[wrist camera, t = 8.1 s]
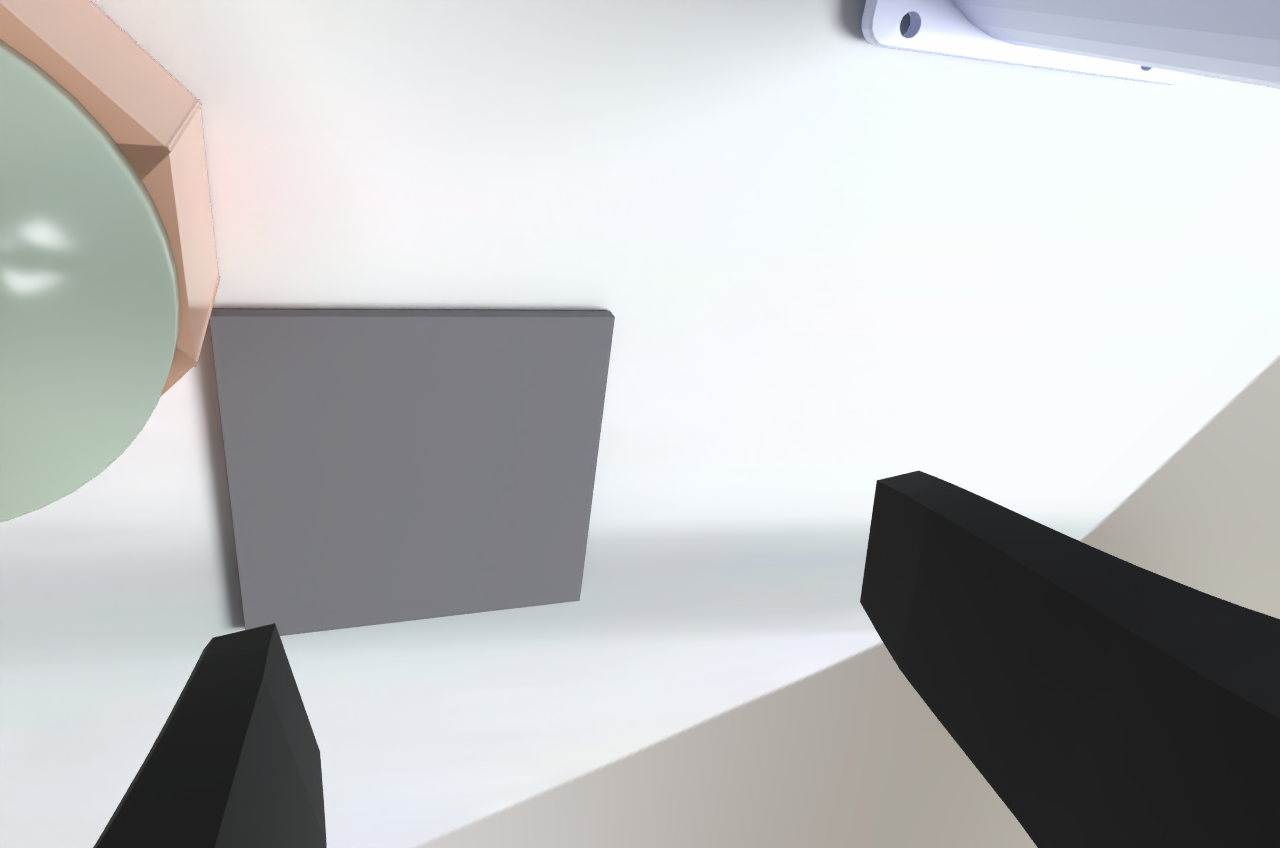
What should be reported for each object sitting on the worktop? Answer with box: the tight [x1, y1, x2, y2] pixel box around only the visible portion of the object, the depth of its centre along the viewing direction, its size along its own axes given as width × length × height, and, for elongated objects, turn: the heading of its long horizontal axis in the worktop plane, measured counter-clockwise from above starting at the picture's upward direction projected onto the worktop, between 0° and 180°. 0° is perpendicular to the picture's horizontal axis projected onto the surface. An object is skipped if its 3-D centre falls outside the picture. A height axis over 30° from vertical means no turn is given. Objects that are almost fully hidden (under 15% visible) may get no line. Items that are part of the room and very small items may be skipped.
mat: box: [209, 309, 615, 636], centre depth 20 cm, size 8×8×1 cm
